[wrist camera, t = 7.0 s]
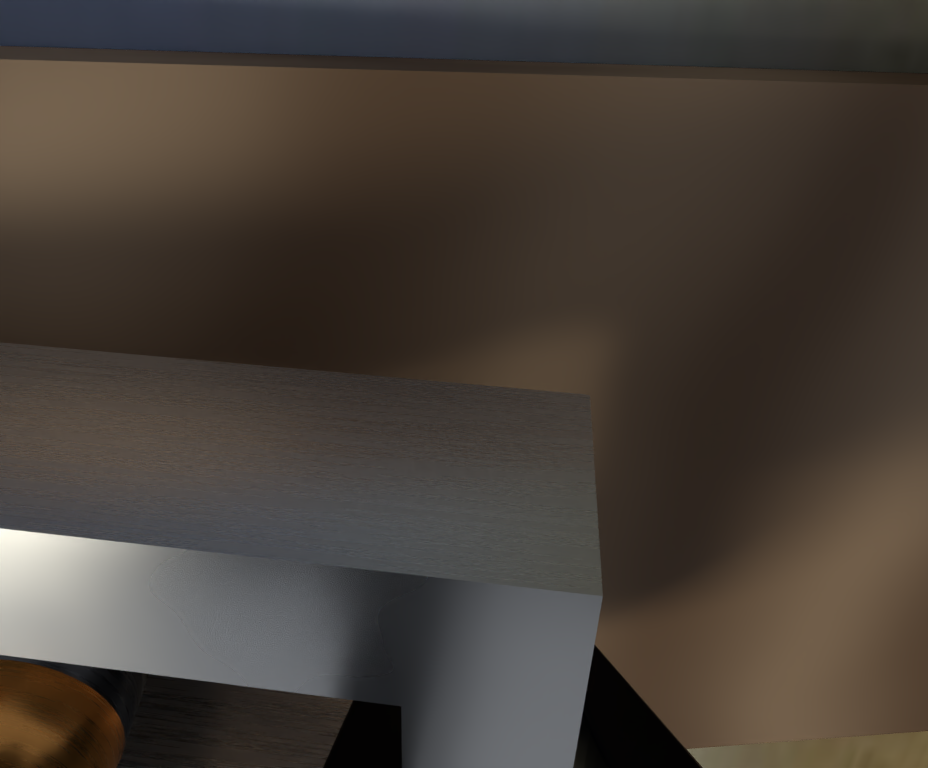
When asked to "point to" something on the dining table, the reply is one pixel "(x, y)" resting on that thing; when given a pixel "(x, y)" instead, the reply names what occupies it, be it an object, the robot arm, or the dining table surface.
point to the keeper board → (551, 312)
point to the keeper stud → (65, 713)
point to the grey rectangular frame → (302, 554)
